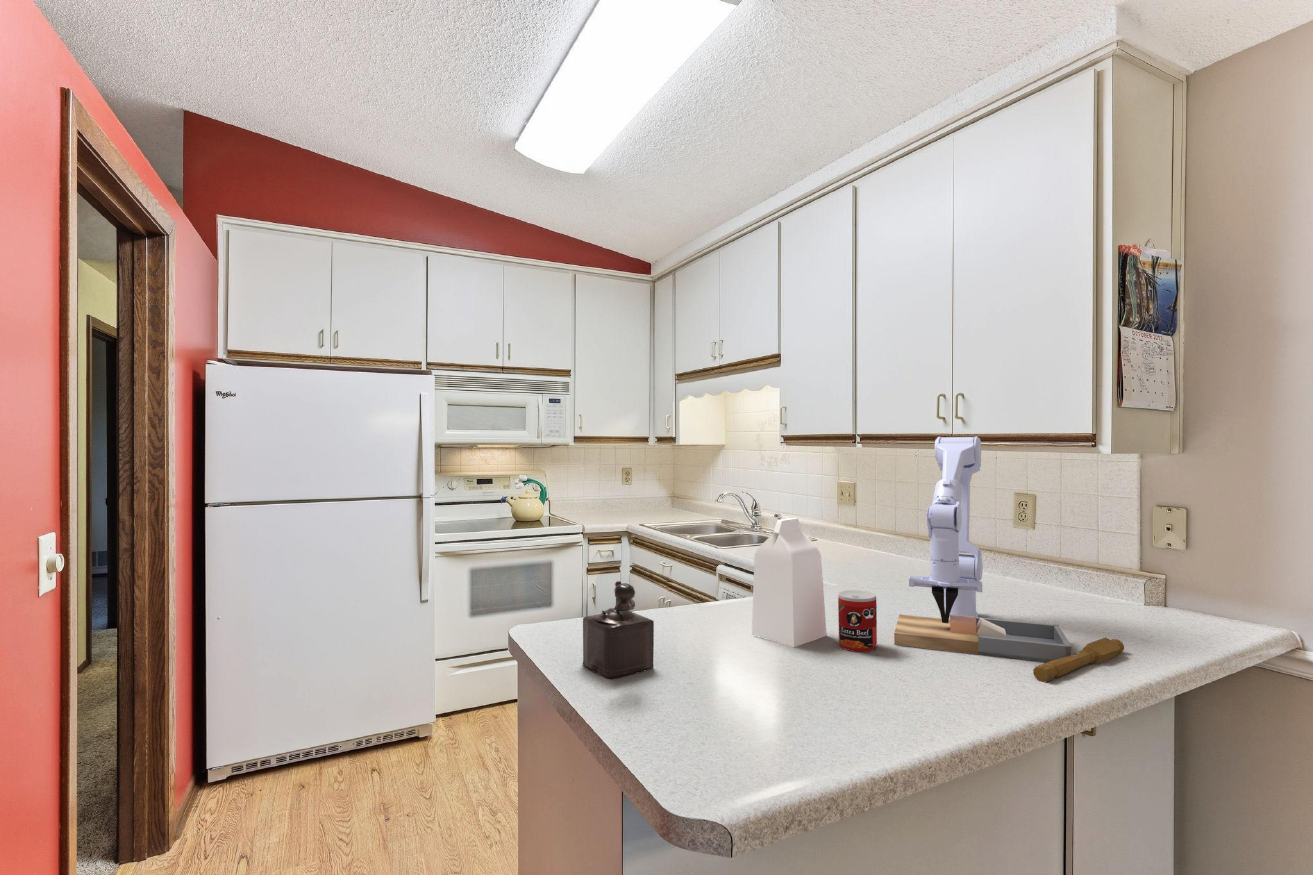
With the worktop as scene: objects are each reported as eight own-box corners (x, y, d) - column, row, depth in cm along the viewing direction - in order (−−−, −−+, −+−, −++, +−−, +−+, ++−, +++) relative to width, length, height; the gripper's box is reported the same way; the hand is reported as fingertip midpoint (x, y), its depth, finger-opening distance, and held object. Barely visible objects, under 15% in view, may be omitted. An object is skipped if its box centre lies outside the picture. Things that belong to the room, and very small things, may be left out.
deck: (899, 624, 151) (899, 614, 151) (975, 632, 144) (975, 621, 144) (894, 644, 136) (894, 632, 136) (978, 654, 130) (978, 641, 130)
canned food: (835, 649, 134) (834, 596, 134) (843, 638, 141) (842, 588, 141) (873, 654, 130) (872, 600, 130) (879, 643, 137) (879, 592, 137)
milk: (793, 647, 135) (792, 523, 136) (751, 635, 144) (750, 519, 144) (826, 635, 143) (825, 519, 143) (784, 624, 152) (783, 514, 152)
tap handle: (1036, 661, 116) (1115, 634, 132) (1028, 674, 117) (1107, 645, 133) (1052, 674, 114) (1130, 644, 129) (1044, 686, 115) (1122, 656, 131)
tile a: (950, 625, 141) (950, 614, 141) (975, 628, 139) (975, 616, 139) (950, 631, 137) (950, 619, 137) (976, 634, 135) (976, 622, 135)
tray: (975, 632, 144) (975, 617, 144) (1058, 641, 138) (1058, 624, 138) (978, 654, 130) (978, 637, 130) (1071, 665, 123) (1071, 646, 123)
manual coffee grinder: (578, 665, 126) (577, 573, 126) (625, 654, 132) (625, 566, 132) (621, 689, 113) (620, 587, 113) (671, 676, 120) (670, 579, 120)
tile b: (975, 627, 139) (980, 617, 139) (999, 639, 138) (1004, 628, 137) (976, 634, 135) (981, 623, 135) (1001, 646, 133) (1006, 635, 133)
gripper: (907, 560, 139) (908, 623, 139) (982, 565, 133) (983, 630, 133) (909, 554, 146) (910, 614, 145) (981, 559, 140) (982, 621, 139)
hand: (945, 622), depth 140 cm, fingers closed
